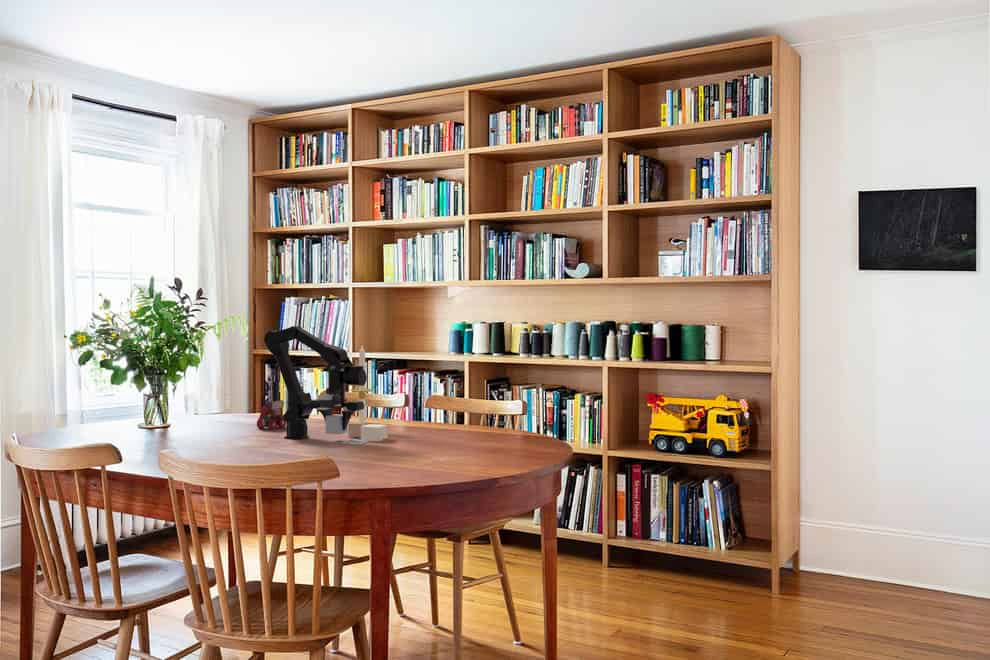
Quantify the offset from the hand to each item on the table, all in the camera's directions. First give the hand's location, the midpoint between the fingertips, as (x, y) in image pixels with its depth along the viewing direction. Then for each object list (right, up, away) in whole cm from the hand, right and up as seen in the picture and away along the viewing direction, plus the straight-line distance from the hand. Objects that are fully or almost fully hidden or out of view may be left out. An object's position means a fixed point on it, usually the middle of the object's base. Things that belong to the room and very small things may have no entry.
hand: (336, 429), depth 304 cm
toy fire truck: (-30, -3, +29) cm, 42 cm away
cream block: (+13, -4, +3) cm, 14 cm away
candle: (+5, -3, +24) cm, 25 cm away
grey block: (0, -1, 0) cm, 1 cm away
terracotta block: (+6, -4, +10) cm, 12 cm away
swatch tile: (+7, -4, -3) cm, 9 cm away
